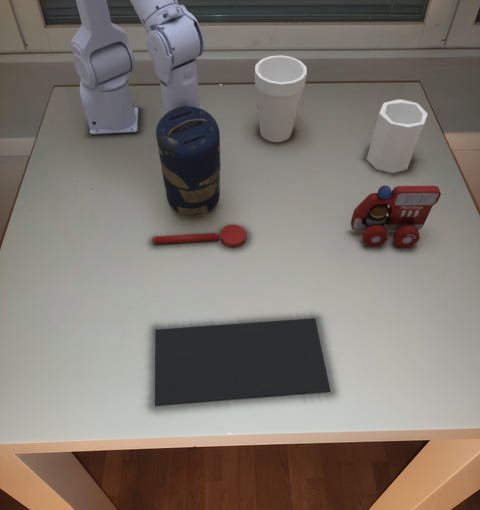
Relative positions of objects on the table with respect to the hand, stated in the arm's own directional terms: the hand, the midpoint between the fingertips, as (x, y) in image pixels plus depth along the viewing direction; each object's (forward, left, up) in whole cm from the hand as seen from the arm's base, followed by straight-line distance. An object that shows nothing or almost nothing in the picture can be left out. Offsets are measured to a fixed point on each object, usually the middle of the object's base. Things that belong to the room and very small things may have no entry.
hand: (188, 172), depth 86 cm
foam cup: (+18, +14, -3) cm, 23 cm away
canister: (0, -5, -2) cm, 5 cm away
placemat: (+6, -38, -3) cm, 38 cm away
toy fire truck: (+33, -15, -3) cm, 36 cm away
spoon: (+2, -14, -3) cm, 15 cm away
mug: (+39, +6, -3) cm, 40 cm away
